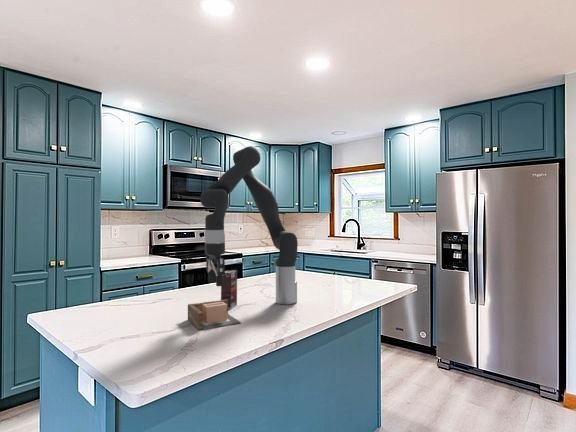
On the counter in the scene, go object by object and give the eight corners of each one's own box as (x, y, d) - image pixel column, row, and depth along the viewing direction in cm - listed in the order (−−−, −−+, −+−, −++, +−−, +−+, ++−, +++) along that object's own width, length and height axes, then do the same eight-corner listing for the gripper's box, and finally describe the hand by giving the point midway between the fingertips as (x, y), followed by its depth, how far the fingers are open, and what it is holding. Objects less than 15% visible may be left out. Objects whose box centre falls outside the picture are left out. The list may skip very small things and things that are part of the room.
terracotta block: (202, 320, 137) (202, 304, 137) (222, 317, 141) (222, 301, 141) (206, 323, 132) (206, 306, 132) (227, 320, 136) (227, 304, 136)
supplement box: (230, 310, 154) (230, 273, 154) (220, 309, 155) (220, 272, 155) (237, 305, 163) (237, 270, 163) (227, 304, 164) (227, 269, 164)
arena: (226, 314, 148) (226, 299, 148) (240, 323, 135) (240, 307, 135) (187, 319, 140) (187, 304, 140) (198, 330, 127) (198, 313, 127)
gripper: (199, 241, 140) (200, 282, 141) (211, 243, 128) (212, 288, 128) (217, 240, 144) (218, 280, 144) (231, 242, 132) (231, 286, 132)
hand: (215, 284), depth 136 cm, fingers open, 8 cm apart
